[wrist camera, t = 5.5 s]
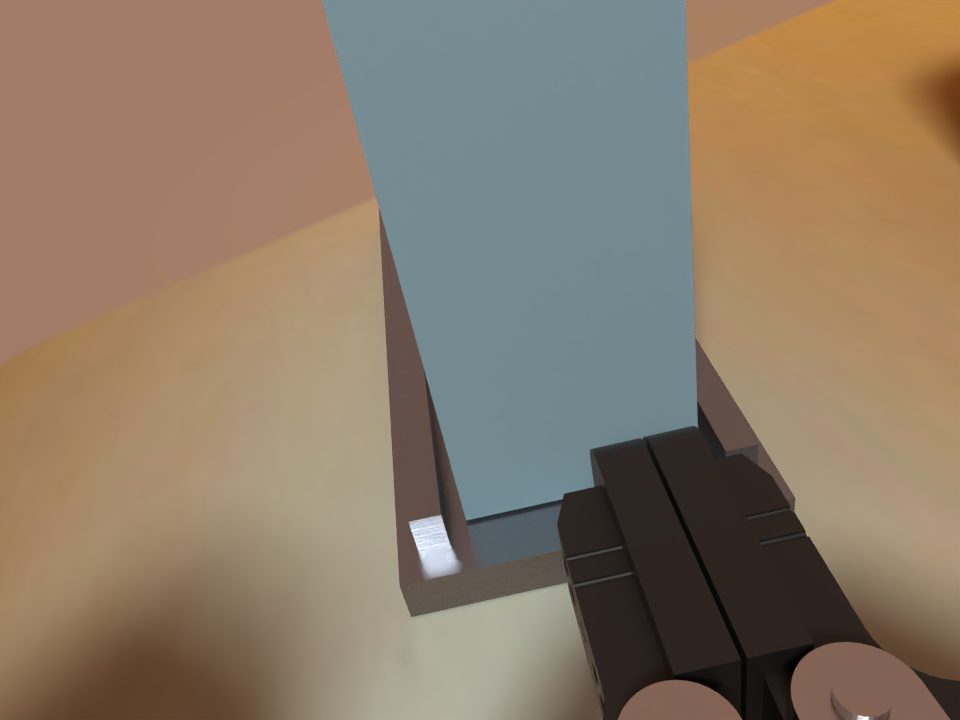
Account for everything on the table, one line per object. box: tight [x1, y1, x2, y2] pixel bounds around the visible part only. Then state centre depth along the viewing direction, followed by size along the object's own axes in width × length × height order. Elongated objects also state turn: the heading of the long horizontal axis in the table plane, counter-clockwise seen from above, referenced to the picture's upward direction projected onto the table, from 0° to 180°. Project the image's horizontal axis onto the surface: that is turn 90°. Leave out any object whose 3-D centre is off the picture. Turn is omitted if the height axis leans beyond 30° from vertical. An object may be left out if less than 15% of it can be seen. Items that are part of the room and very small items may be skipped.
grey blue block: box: [322, 0, 698, 520], centre depth 21 cm, size 12×6×13 cm, turn 7°
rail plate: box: [379, 209, 795, 617], centre depth 27 cm, size 22×10×6 cm, turn 7°
